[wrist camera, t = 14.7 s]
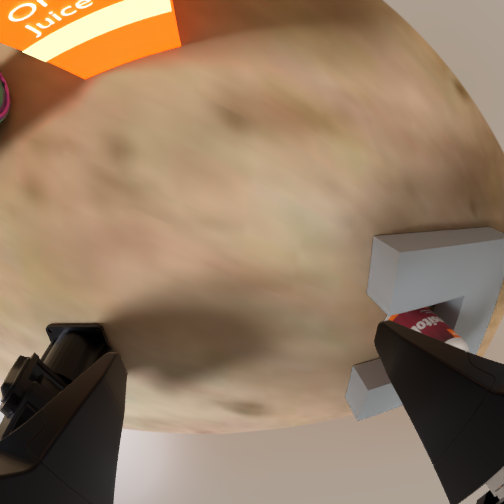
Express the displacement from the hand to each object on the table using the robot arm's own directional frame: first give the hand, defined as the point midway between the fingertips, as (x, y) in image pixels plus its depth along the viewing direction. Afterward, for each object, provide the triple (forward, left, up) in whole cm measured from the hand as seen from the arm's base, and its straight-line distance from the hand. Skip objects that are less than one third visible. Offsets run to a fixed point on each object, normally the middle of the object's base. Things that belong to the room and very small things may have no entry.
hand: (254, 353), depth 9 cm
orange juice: (-7, +18, -13) cm, 23 cm away
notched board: (+21, -11, -13) cm, 27 cm away
